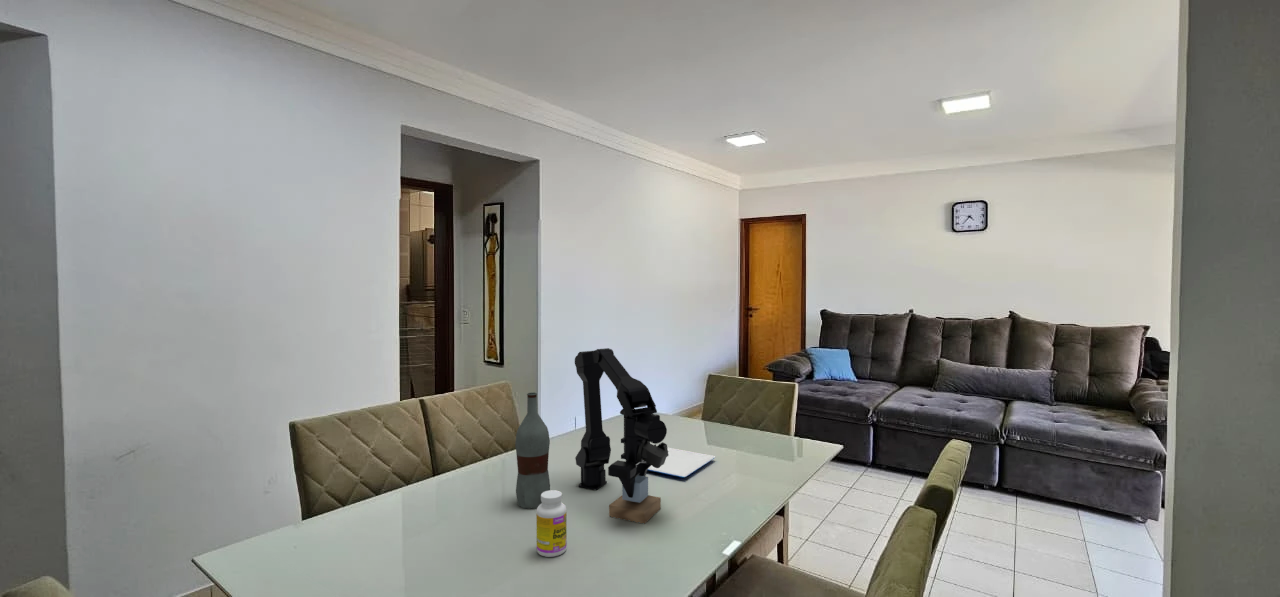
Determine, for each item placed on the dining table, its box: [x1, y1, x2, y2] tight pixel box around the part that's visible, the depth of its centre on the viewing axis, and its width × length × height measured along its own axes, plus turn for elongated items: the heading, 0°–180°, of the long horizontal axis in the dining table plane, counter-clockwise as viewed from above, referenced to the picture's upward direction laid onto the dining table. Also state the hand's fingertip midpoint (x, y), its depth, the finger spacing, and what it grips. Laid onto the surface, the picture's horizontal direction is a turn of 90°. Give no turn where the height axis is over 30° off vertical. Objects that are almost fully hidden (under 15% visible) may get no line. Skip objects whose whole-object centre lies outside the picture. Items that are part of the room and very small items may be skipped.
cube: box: [621, 475, 649, 503], centre depth 143 cm, size 5×5×5 cm
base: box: [608, 494, 662, 525], centre depth 143 cm, size 10×10×3 cm
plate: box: [647, 446, 716, 479], centre depth 180 cm, size 22×22×2 cm
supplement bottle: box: [535, 489, 568, 558], centre depth 123 cm, size 7×7×13 cm
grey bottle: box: [514, 391, 551, 509], centre depth 149 cm, size 9×9×30 cm
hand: (635, 493), depth 143 cm, fingers closed on cube, 5 cm apart
